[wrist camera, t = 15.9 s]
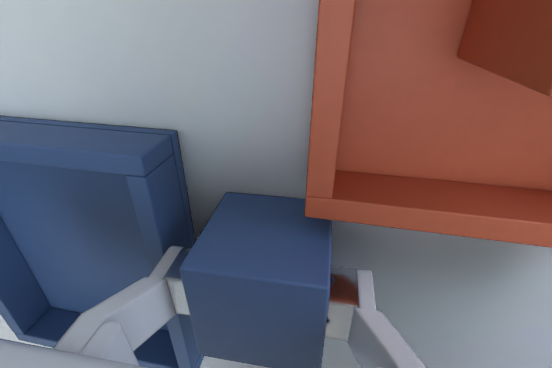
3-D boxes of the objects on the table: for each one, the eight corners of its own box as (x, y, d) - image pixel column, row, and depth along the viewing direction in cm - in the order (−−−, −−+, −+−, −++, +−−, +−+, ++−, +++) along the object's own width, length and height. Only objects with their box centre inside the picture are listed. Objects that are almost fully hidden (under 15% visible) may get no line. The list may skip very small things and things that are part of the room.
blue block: (324, 279, 14) (320, 377, 10) (234, 268, 15) (198, 355, 11) (332, 200, 12) (330, 288, 8) (225, 191, 13) (177, 268, 9)
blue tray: (211, 338, 19) (194, 380, 16) (52, 306, 21) (18, 340, 18) (177, 130, 12) (139, 156, 10) (-58, 110, 14) (-132, 129, 12)
